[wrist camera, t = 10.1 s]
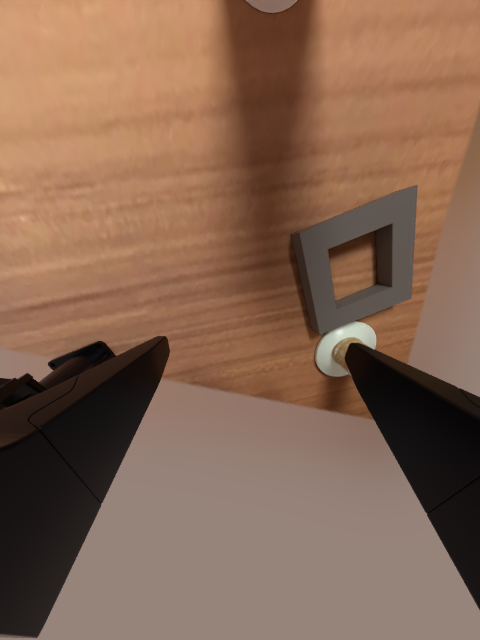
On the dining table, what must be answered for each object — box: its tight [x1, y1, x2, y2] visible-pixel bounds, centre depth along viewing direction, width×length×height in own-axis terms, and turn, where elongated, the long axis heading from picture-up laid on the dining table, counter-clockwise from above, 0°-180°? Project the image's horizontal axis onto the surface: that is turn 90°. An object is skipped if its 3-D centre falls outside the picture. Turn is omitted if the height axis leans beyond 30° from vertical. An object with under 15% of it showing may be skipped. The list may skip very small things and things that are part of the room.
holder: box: [291, 185, 417, 335], centre depth 20 cm, size 12×12×2 cm
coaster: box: [315, 321, 376, 377], centre depth 25 cm, size 9×9×1 cm
